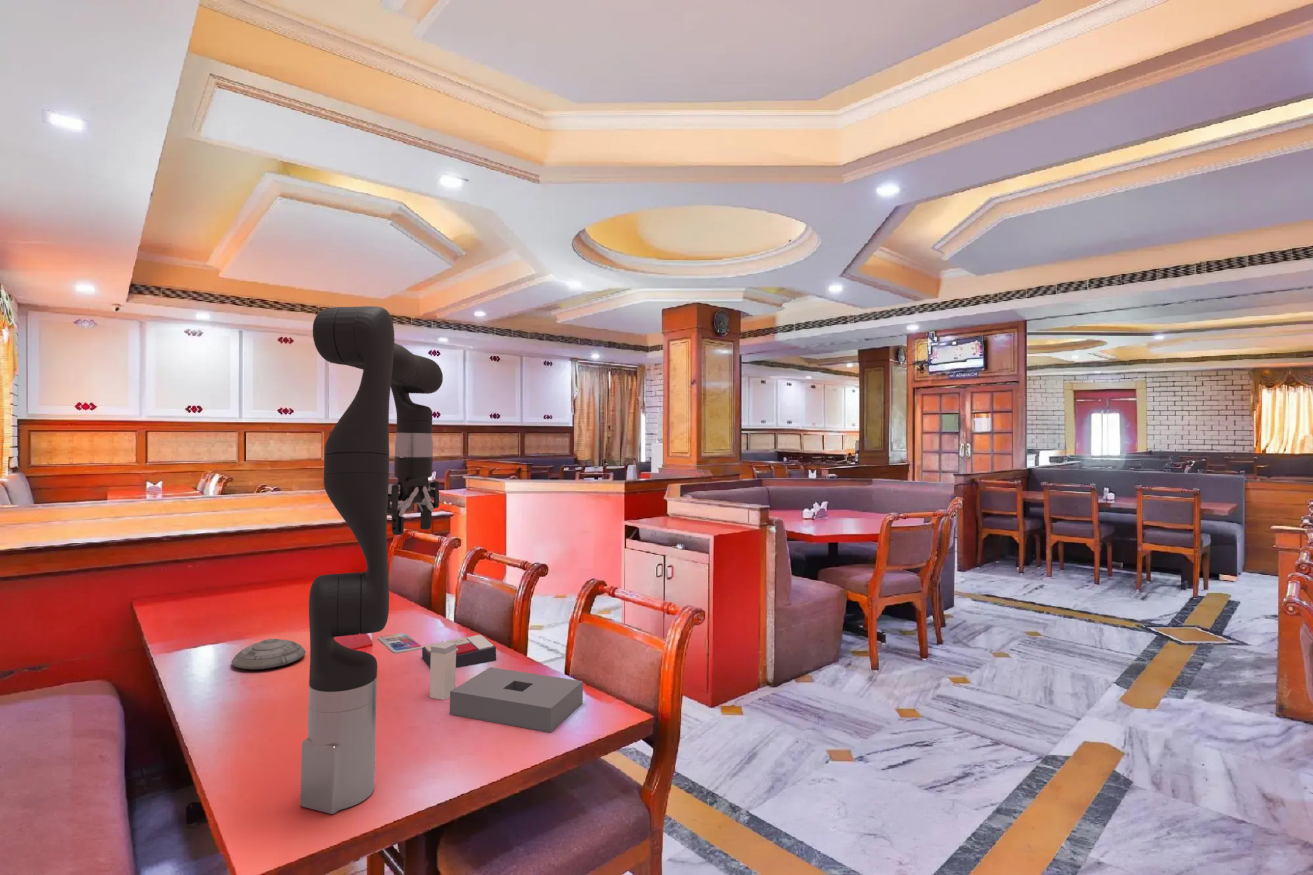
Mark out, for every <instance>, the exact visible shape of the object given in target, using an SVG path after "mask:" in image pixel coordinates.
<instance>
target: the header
mask: <svg viewBox="0 0 1313 875" xmlns="http://www.w3.org/2000/svg"><path fill="white" fill-rule="evenodd" d="M583 689H584V681H583V680H577V679H572V678H563V677H558V676H550V675H546V674H545V675H544V674H539V673H538V674H537V673H533V672H532V673H531V672H526V671H525V672H524V671H519V670H511V669H505V668H499V667H492V666H490V667H487V668H486V669H485V670H483V671H481V672H479V673H478V674H476V675H475V676H473V677H471V678H470V679H468V680H466V681H465V682H463V683H461V684H459V685H457V686H455V689H453V690H451V691H450V697H449V715H450V716H451V715H452V716H457V717H462V718H468V719H475V720H479V721H485V722H491V723H496V724H500V725H507V726H512V727H517V728H524V729H528V730H534V731H539V732H544V733H552V732H553V731H554V730H555V729H556V728H557V727H559V725H561V724H562V723H563V722H564V721H565V720H566V719H567V718H568V717H569V716H570V715H572V714H573V713H574V711H576V710H577V709H578V708H580V706H582V704H583V700H584V699H583V697H584V696H583V695H584V690H583Z"/></svg>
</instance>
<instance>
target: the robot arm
mask: <svg viewBox="0 0 1313 875" xmlns="http://www.w3.org/2000/svg"><path fill="white" fill-rule="evenodd" d="M395 339H396V338H395V328H394V323H393V319H392V316H391V315H390V313H389V311H388V310H387V309H385V308H384V307H382V306H373V305H371V306H368V305H366V306H365V305H363V306H335V307H333V306H332V307H329V308H328V307H327V308H324V309H322V310H320V311H319V312H318V313H317V315H316V316H315V317H314V320H313V324H312V340H313V342H314V343H313V344H314V346H315V349H316V351H317V352H318V354H319V356H321V358H322V359H324V360H325V361H326V362H328V363H331V364H336V365H339V366H341V365H342V366H348V367H352V368H356V369H359V370H363V371H362V375H361V380H360V383H359V387H358V390H357V392H356V394H355V395H354V396H355V397H354V398H353V400H352V401H351V403H350V404H349V405H348V407H347V408H346V410H345V411H344V413H342V415H341V417H340V419H338V421H337V423H336V424H335V426H334V427H333V428H332V430H331V432H330V434H329V435H328V438H327V439H326V442H325V446H324V454H323V455H324V457H323V461H324V462H323V464H324V465H323V487H324V491H325V492H326V495H327V497H328V498H329V500H330V502H331V503H332V505H333V506H334V508H335V510H336V511H337V512H338V513H339V515H340V516H341V518H342V519H343V520H344V521H345V523H346V524H347V526H348V528H349V529H350V530H351V532H352V534H353V535H354V537H355V539H356V541H357V543H358V545H359V547H360V548H361V550H362V554H363V556H364V559H365V563H366V571H358V572H343V573H330V574H329V573H328V574H321V575H318V576H316V578H314V580H313V581H312V583H311V585H310V589H309V595H308V596H309V597H308V622H309V623H308V624H309V642H310V643H309V654H310V655H309V673H308V674H309V675H308V676H309V678H308V709H307V711H308V714H307V715H308V716H307V738H305V739H304V740H302V742H301V761H300V764H301V765H300V802H299V803H300V807H303V808H307V809H311V810H314V811H319V812H323V813H326V814H330V815H334V814H336V813H337V812H339V811H341V810H346V809H348V808H351V807H353V806H357V805H358V804H360V803H362V802H364V801H366V799H368V798H369V797H370V796H371V795H372V794H373V792H374V791H375V787H376V786H375V785H376V784H375V783H376V782H375V781H376V779H375V778H376V776H375V775H376V738H377V736H376V734H377V732H376V730H377V729H376V728H377V695H378V694H377V688H378V687H377V683H378V661H377V658H376V657H375V656H374V655H373V654H371V653H369V652H366V651H362V650H357V649H353V648H349V647H347V646H345V645H342V644H341V643H339V642H338V641H336V640H335V638H336V637H337V638H338V637H347V636H348V637H349V636H356V635H366V634H367V635H368V634H375V633H379V632H382V631H383V630H384V629H385V627H386V626H387V622H388V621H389V620H388V619H389V612H390V584H389V583H390V581H389V563H388V562H389V559H388V557H389V556H388V538H387V537H388V536H387V535H388V532H387V530H388V529H387V528H388V526H387V525H388V515H390V516H391V532H392V535H395V536H402V535H403V534H404V532H405V531H404V526H405V516H404V514H405V513H406V510H407V509H408V508H410V506H411V505H413V504H416V505H418V508H419V509H420V510H421V511H420V520H419V521H420V522H419V523H420V526H419V527H420V529H421V530H431V528H432V520H433V511H434V510H435V509H438V508H439V506H440V484H439V481H438V480H429V478H431V477H432V476H433V465H434V464H433V458H434V456H433V454H434V453H433V452H434V444H433V443H434V442H433V410H432V409H431V407H430V406H427V405H424V404H419V403H416V402H413V401H412V399H411V397H410V394H423V395H424V394H425V395H426V394H427V395H428V394H433V393H436V392H437V391H439V389H441V387H442V384H443V380H444V377H443V372H442V368H441V366H440V364H438V363H437V362H436V361H434V360H433V359H431V358H428V357H425V356H422V355H418V354H414V353H413V352H411V351H410V350H408V349H407V348H406V347H404V346H402V345H401V344H398V343H395ZM391 393H392V397H393V400H394V401H393V402H394V406H395V413H396V433H395V439H394V440H395V441H394V458H393V459H394V462H393V464H394V465H393V466H394V467H393V475H394V478H397V482H396V484H395V483H390V482H389V480H390V397H391ZM432 498H433V500H432Z"/></svg>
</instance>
